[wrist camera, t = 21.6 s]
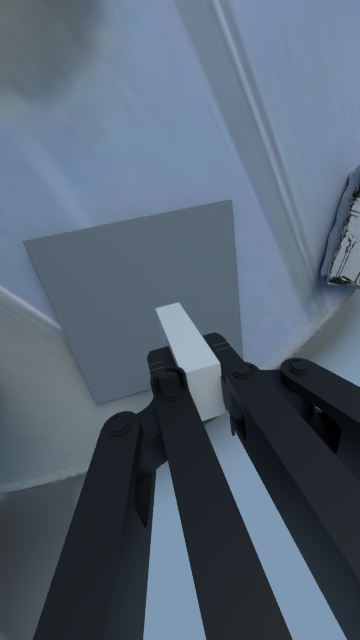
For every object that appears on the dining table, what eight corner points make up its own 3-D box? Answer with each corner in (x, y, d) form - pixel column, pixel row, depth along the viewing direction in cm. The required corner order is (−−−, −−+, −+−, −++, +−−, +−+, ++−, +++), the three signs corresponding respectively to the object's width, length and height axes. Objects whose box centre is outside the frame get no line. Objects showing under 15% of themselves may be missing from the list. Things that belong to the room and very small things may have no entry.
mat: (96, 399, 31) (96, 404, 30) (27, 240, 22) (23, 241, 21) (240, 357, 34) (243, 361, 33) (227, 200, 25) (231, 199, 24)
